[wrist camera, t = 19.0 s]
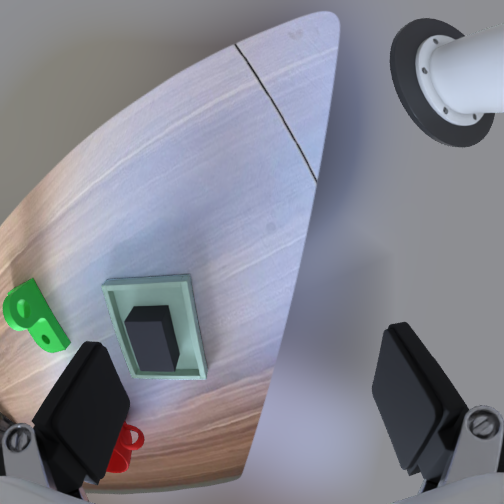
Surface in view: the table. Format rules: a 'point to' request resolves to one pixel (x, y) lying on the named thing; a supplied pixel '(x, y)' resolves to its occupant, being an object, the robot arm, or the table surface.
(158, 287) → the mount tray
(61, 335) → the mechanical part
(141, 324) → the black block
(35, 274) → the table surface
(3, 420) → the grey patterned box
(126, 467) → the ceramic cup
